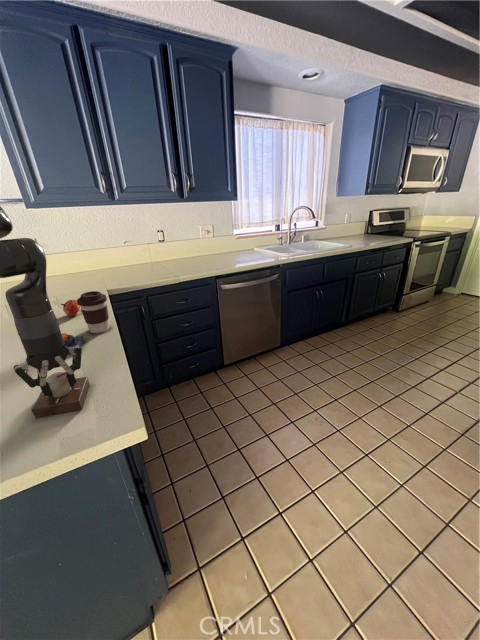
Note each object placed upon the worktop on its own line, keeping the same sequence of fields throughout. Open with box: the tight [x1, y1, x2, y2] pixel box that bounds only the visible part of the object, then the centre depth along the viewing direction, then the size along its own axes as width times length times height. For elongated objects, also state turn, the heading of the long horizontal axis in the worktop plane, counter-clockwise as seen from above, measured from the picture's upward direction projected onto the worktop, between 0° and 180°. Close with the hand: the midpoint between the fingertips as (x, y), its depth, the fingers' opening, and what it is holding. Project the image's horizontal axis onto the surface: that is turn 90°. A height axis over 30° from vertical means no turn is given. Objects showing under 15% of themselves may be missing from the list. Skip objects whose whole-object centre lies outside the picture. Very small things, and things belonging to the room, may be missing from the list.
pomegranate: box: [60, 299, 82, 318], centre depth 117 cm, size 7×7×10 cm
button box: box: [64, 334, 85, 356], centre depth 91 cm, size 10×9×4 cm
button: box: [61, 332, 68, 341], centre depth 90 cm, size 4×4×2 cm
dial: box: [46, 371, 71, 397], centre depth 66 cm, size 4×4×5 cm
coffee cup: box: [76, 290, 110, 334], centre depth 102 cm, size 10×10×15 cm
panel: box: [31, 376, 91, 420], centre depth 68 cm, size 10×10×3 cm
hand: (60, 389), depth 67 cm, fingers closed on dial, 4 cm apart
